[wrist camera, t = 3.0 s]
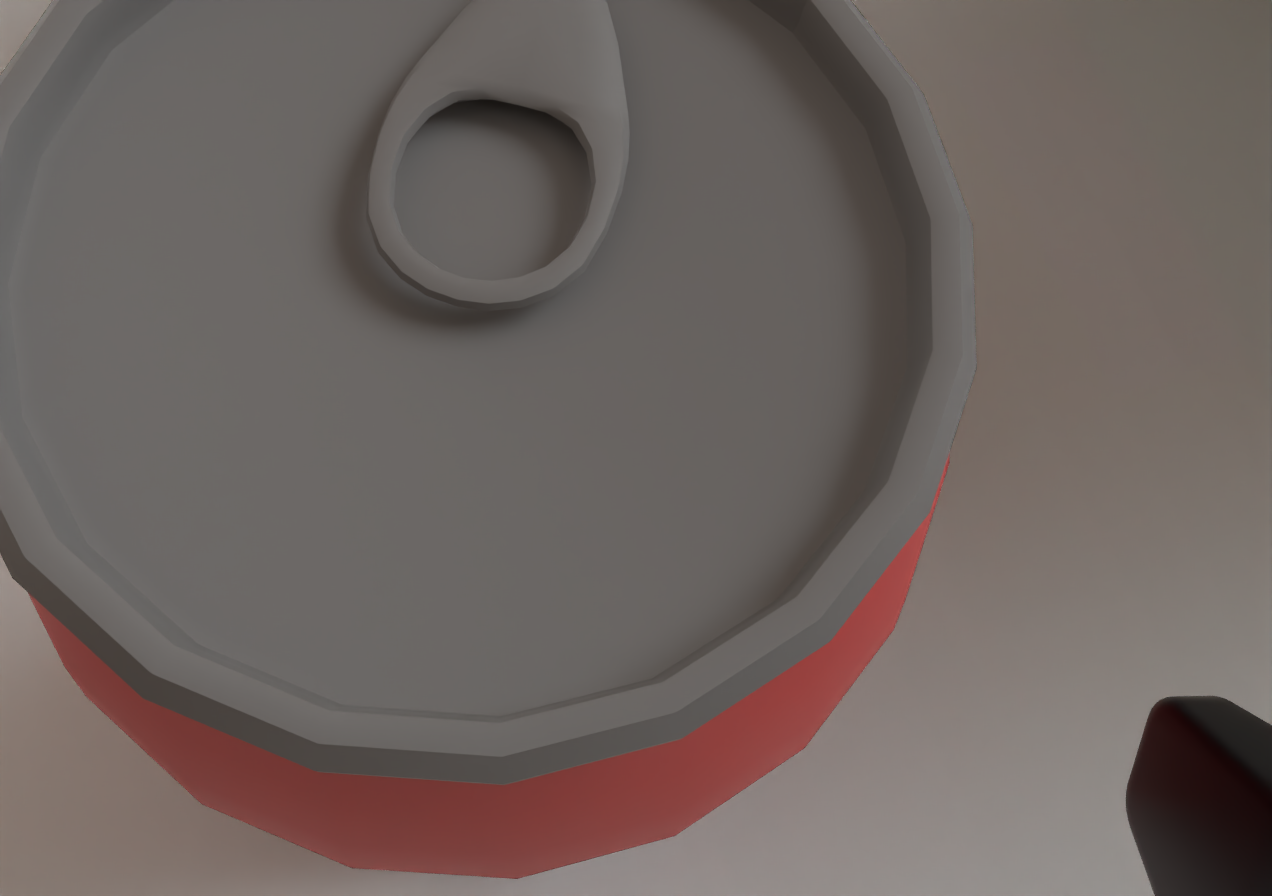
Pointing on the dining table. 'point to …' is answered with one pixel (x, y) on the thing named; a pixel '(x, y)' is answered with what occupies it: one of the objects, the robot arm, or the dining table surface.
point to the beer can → (472, 399)
